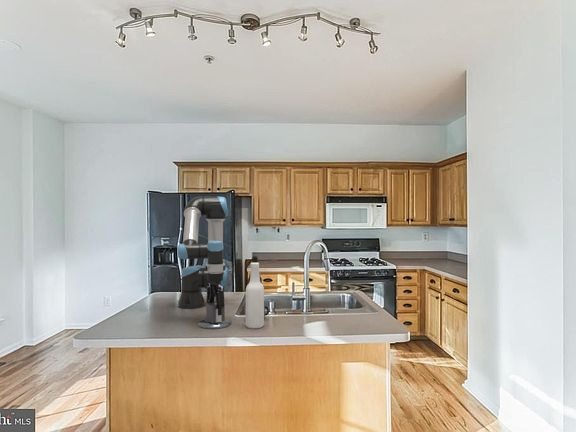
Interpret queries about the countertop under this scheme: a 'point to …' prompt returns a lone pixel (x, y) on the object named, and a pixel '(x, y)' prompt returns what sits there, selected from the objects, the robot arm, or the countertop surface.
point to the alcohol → (254, 299)
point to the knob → (213, 312)
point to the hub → (214, 324)
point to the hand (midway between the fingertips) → (215, 320)
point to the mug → (264, 310)
